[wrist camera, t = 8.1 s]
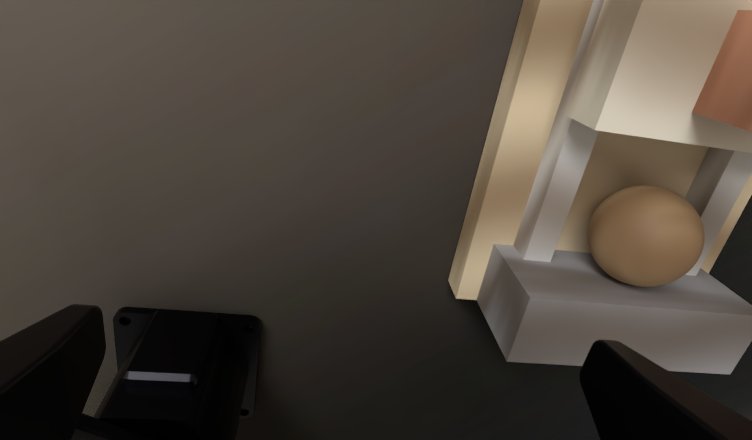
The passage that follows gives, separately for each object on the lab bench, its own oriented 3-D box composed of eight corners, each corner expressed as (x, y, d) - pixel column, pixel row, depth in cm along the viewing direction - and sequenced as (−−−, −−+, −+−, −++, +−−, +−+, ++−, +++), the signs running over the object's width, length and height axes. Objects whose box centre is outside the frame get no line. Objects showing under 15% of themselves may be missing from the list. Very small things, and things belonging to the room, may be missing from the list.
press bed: (665, 298, 25) (750, 375, 20) (448, 280, 23) (482, 360, 18) (947, -251, 15) (1242, -364, 10) (620, -360, 13) (791, -562, 8)
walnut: (637, 257, 21) (700, 311, 18) (557, 249, 21) (605, 303, 17) (674, 176, 20) (752, 217, 16) (589, 165, 19) (650, 205, 15)
